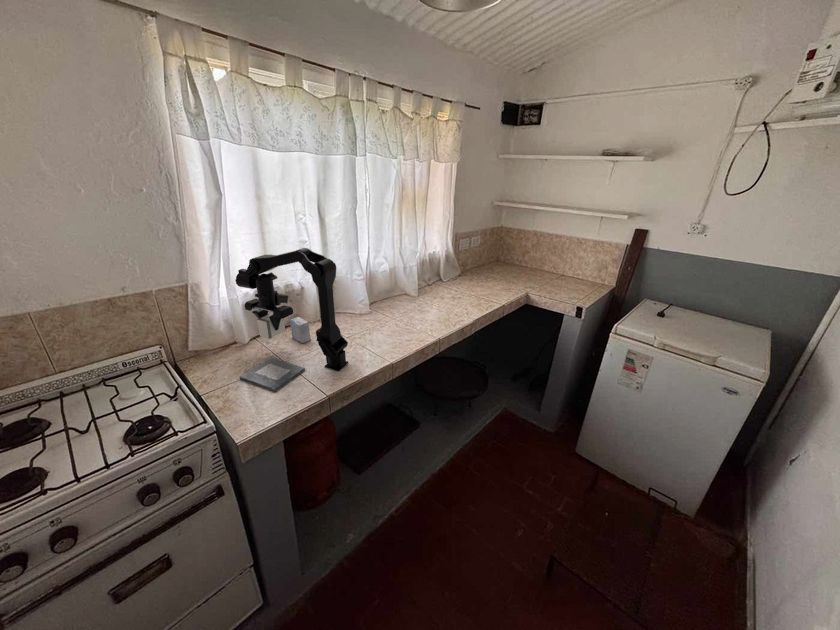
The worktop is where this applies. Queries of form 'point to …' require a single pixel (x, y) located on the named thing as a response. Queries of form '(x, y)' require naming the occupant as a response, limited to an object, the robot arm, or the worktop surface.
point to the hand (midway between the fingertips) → (272, 328)
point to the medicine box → (300, 330)
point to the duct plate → (272, 374)
